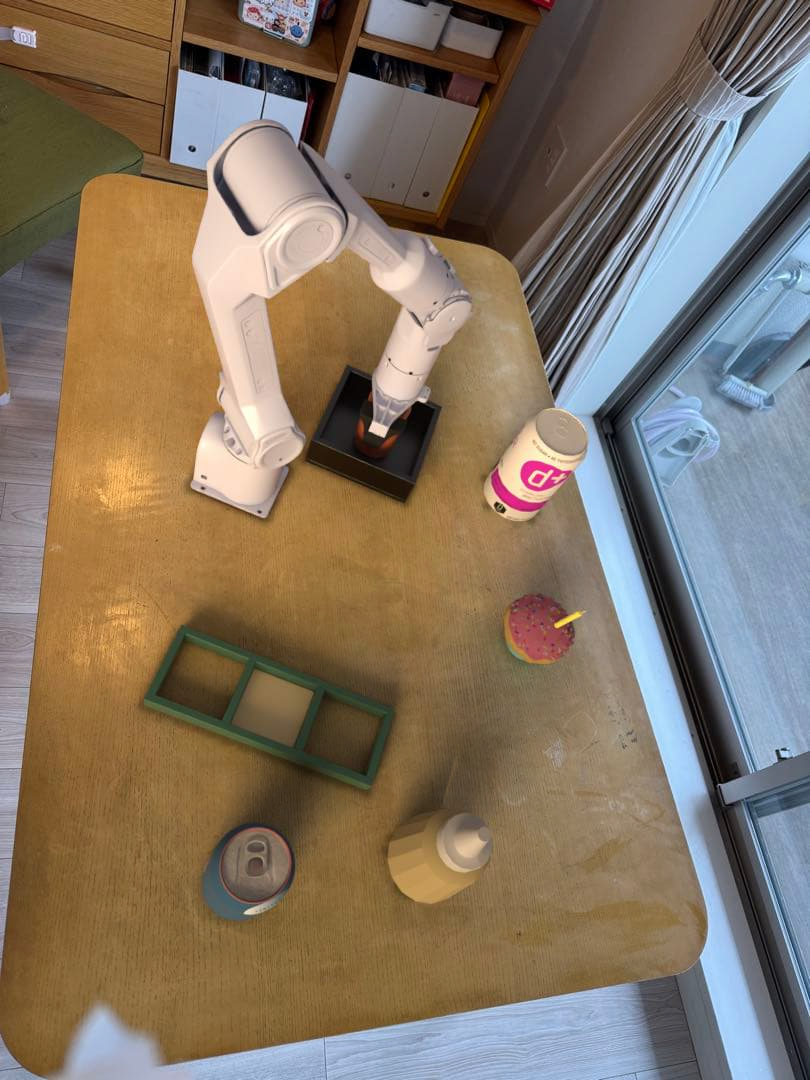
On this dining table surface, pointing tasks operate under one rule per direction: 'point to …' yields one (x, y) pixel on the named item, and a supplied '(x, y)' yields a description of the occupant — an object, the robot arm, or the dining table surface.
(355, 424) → the open box
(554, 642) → the cupcake
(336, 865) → the dining table surface
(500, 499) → the supplement can
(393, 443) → the tumbler
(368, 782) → the rack
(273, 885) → the soda can
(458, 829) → the squeeze bottle
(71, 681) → the dining table surface
